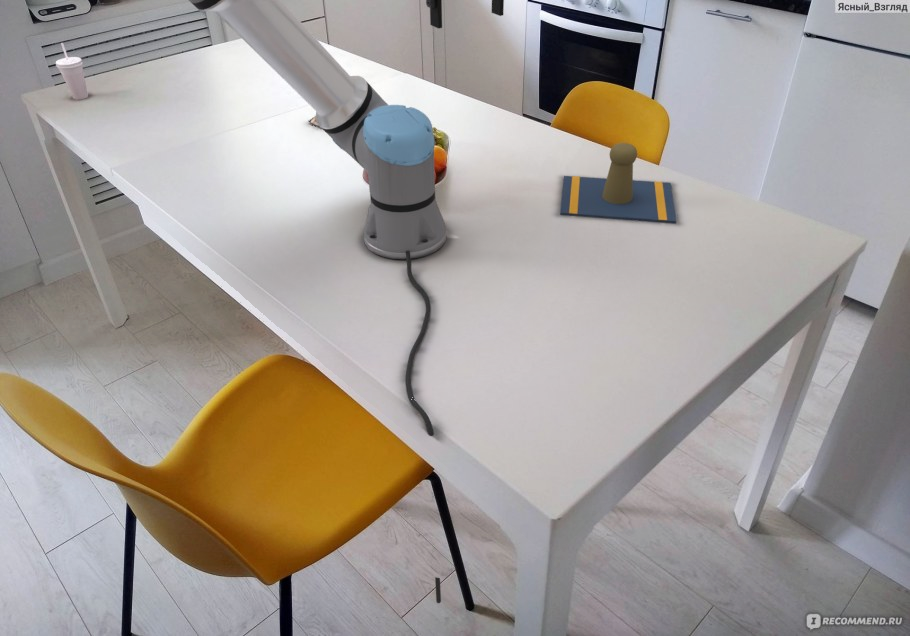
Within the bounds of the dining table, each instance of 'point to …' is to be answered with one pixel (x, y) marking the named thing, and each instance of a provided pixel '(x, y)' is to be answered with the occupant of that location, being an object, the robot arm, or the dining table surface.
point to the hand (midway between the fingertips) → (467, 20)
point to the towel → (645, 206)
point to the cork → (620, 174)
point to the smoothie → (73, 75)
